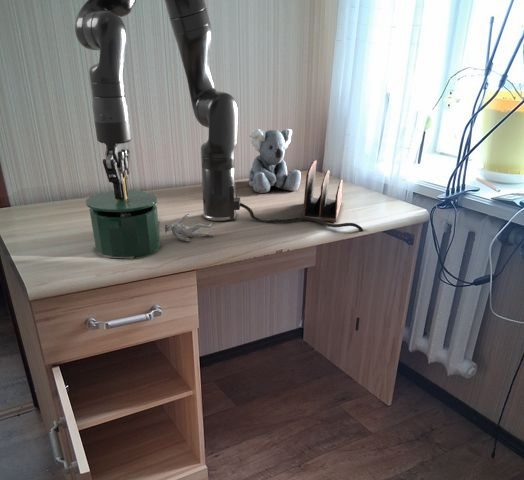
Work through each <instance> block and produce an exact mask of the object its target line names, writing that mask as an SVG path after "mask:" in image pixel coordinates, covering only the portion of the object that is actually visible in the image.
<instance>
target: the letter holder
mask: <svg viewBox="0 0 524 480" xmlns="http://www.w3.org/2000/svg"><path fill="white" fill-rule="evenodd" d="M316 170H317V159H314V160H312V162H311V163H310V165H309V168H308V170H307V172H306V175H305V176H306V177H305V186H304V198H303V207H302V208H303V209H302V217H310V218H315V219H318V220H321V221H323V222H326V223H337V220H338V217H339V213H340V210H341V205H342V200H343V197H342V196H343V182H344V180H343V178H341V179H340V180H339V182H338V186H337V190H336V193H335V199H331V198H328V194H329V193H328V192H329V184H330V183H329V181H330V170H327V171H326V172H325V173H324V176H323V179H322V183H321V185H320V194H319V196H318V197H314V190H315V182H316Z"/></svg>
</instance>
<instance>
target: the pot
mask: <svg viewBox="0 0 524 480" xmlns="http://www.w3.org/2000/svg"><path fill="white" fill-rule="evenodd" d="M88 211H89V216H90V222H91V228H92V234H93V235H92V236H93V239H94V240H93V241H94V245H95V247H94V248H95V250H96V252H97V253H99V254H100V255H102V256H107V257H110V260H111V259H112V260H134V259H139V258H144V257H148V256H151V255H153V254H155V253H157V252H158V251H159V250H160V247H161V237H160V236H161V235H160V226H159V216H158V207H157V206H156V204H155V205H153V206H151V207H148V208H145V209H141V210H136V211H130V212H105V211H98V210H94V209H91V208H89V210H88ZM122 213H123V215H124V213H126V214H127V215H128V213H130V214H131V216H130V217H120V214H122Z"/></svg>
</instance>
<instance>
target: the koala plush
mask: <svg viewBox="0 0 524 480" xmlns="http://www.w3.org/2000/svg"><path fill="white" fill-rule="evenodd" d="M292 135H293V130H292V129H289V128H285V129H283V130H281V131H279V130H277V129H268V130H266V131H265V130H263V129H260V128H257V127H256V128H254V129H253V131H252V132H251V134H250V135H249V137H250V143H251V145H252V147H254V149H255V150H256V151H257V152H258V153H259V155H256V156H255V157H254V159H253V162H252V167H251V168H250V170H249V174H248V185H249V186H250V187H252V188H253V191H254V192H256V193H260V194H267V193H269V192H270V190H271V187H275V188H277V189H280V190H285V191H288V192H289V191H291V192H295V191H298V189H299V187H300V184H301V177H302V174H301V173H302V172H301V171H300V170H297V169H291V170H290V171H289V173H288V168H287V163H286V161H285V160H284V158H285V153H286V150H287V149H288V148H289V144H290V143H291V141H292Z"/></svg>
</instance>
